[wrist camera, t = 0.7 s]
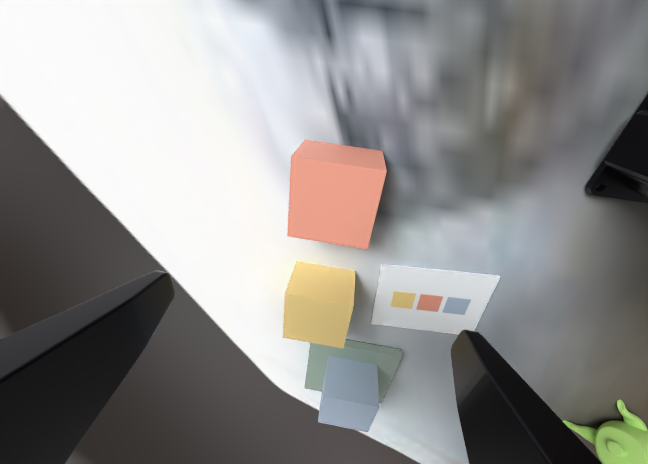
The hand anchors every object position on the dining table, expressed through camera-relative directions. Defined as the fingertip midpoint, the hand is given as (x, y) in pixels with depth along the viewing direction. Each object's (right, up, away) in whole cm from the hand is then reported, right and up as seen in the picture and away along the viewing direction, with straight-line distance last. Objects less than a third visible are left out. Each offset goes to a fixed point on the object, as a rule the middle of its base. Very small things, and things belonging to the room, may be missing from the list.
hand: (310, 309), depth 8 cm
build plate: (+3, -12, +21) cm, 25 cm away
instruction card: (+9, -4, +15) cm, 18 cm away
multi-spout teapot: (+30, -17, +20) cm, 41 cm away
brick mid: (+1, +6, +10) cm, 12 cm away
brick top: (0, -3, +16) cm, 16 cm away
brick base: (+3, -13, +20) cm, 24 cm away
